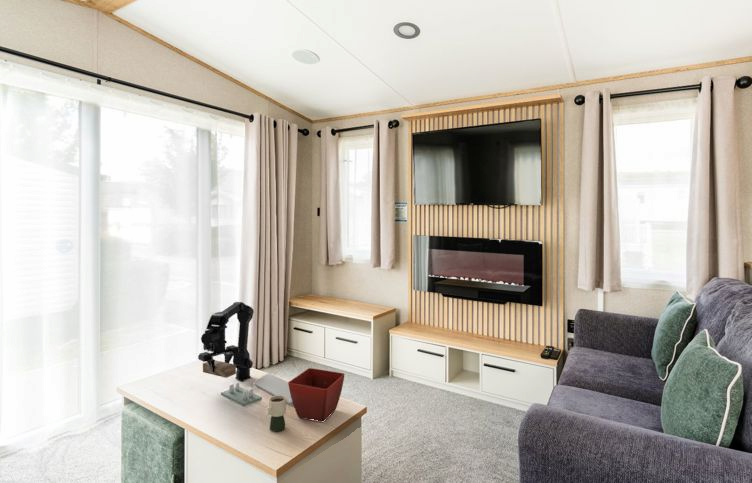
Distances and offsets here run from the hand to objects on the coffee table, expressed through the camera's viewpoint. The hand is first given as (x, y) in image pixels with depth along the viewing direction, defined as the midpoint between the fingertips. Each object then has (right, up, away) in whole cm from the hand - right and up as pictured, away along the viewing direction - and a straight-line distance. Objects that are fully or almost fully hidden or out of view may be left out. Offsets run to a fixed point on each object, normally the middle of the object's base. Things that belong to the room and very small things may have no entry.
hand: (219, 370), depth 199 cm
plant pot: (+51, -15, -18) cm, 56 cm away
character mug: (+36, -15, -31) cm, 50 cm away
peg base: (+11, -13, 0) cm, 17 cm away
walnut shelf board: (0, -1, 0) cm, 1 cm away
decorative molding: (+29, -14, +6) cm, 32 cm away
